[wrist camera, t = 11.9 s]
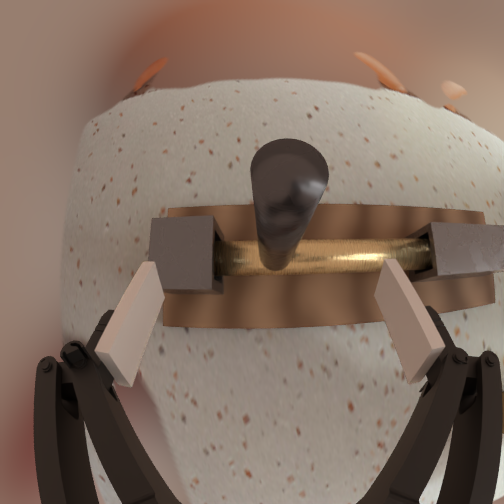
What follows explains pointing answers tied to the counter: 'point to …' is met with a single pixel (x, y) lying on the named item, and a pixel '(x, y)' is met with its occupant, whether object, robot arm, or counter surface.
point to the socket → (186, 254)
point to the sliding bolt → (303, 224)
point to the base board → (320, 285)
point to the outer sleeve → (460, 251)
